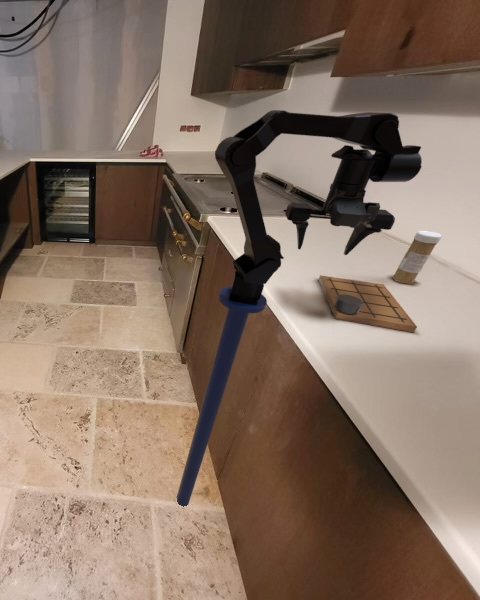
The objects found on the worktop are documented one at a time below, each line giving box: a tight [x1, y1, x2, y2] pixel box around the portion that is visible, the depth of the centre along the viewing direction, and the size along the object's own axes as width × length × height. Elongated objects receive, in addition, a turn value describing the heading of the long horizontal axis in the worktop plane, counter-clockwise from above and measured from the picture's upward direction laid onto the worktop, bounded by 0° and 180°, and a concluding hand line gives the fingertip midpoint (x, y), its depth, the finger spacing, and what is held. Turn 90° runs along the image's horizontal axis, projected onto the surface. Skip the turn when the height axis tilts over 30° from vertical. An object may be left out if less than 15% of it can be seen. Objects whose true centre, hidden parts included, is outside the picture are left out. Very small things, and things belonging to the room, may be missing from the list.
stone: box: [334, 295, 363, 314], centre depth 72 cm, size 5×5×2 cm
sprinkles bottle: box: [392, 230, 443, 285], centre depth 84 cm, size 5×5×14 cm
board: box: [317, 275, 418, 333], centre depth 77 cm, size 14×20×2 cm
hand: (321, 251), depth 75 cm, fingers open, 9 cm apart
